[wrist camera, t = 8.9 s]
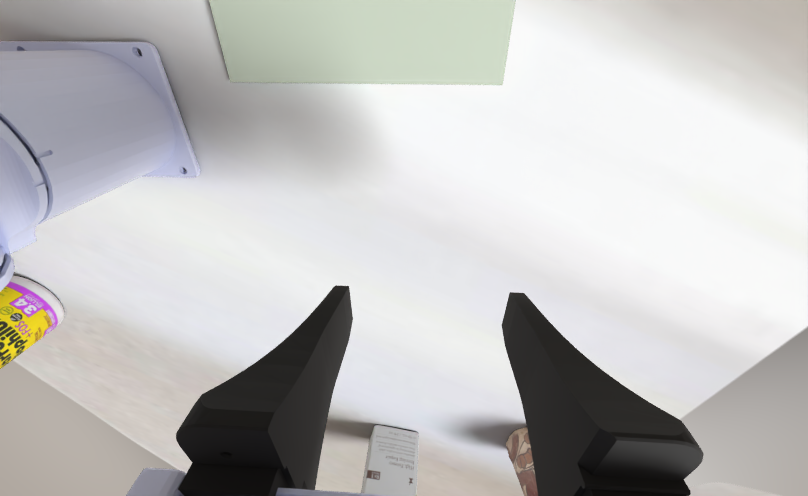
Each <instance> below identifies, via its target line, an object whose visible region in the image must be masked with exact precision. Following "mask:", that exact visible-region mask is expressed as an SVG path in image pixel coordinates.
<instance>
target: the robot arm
mask: <svg viewBox="0 0 808 496" xmlns="http://www.w3.org/2000/svg"><path fill="white" fill-rule="evenodd" d="M138 48H139V49H140V51H141V52H142V56H140V55H139V53H138V50H137V49H138ZM24 49H25V50H24ZM183 167H184V168H185V169H186V170H187V172H185V171H184V169H183ZM199 174H200V168H199V165H198V162H197V159H196V157H195V154H194V151H193V148H192V145H191V143H190V140H189V137H188V134H187V132H186V129H185V126H184V123H183V120H182V118H181V115H180V112H179V109H178V106H177V104H176V101H175V98H174V95H173V92H172V90H171V87H170V84H169V81H168V78H167V76H166V73H165V70H164V67H163V64H162V62H161V59H160V56H159V53H158V51H157V49H156V48H155V47H154V45H152V44H151V43H149V42H66V41H0V292H1V291H2V290H3V289H4V287H5V286H6V285H7V284H8V283H9V282H10V280H11V278H12V276H13V273H14V269H15V265H14V261H13V258H12V257H11V255H10V254H12V253H14V252H16V251H18V250H20V249H22V248H24V247H26V246H28V245H29V244H31V243H33V242H35V241H37V239H36V235H35V228H36V226H37V225H38V224H40V223H42V222H45V221H47V220H49V219H51V218H53V217H55V216H57V215H60V214H62V213H64V212H66V211H68V210H70V209H72V208H75V207H77V206H79V205H81V204H83V203H85V202H87V201H90V200H92V199H94V198H96V197H98V196H100V195H102V194H105V193H107V192H109V191H111V190H113V189H115V188H117V187H120V186H122V185H124V184H126V183H128V182H130V181H132V180H135V179H137V178H139V177H141V176H148V177H189V178H194V177H197V176H198V175H199ZM352 320H353V317H352V308H351V300H350V292H349V286H335V287H333V289H332V290H331V291H330V292H329V294H328V295H327V296H326V297H325V299H324V300H323V301H322V302H321V303H320V304H319V306H318V307H317V308H316V309H315V310H314V311H313V312H312V313H311V315H310V316H309V317H308V318H307V319H306V320H305V321H304V322H303V323H302V324H301V325H300V326H299V327H298V328H297V329H296V330H295V331H294V332H293V333H292V334H291V335H290V336H289V337H287V338H286V339H285V340H284V341H283V342H282V343H281V344H279V345H278V346H277V347H276V348H275V349H273V350H272V351H271V352H269V353H268V354H267V355H265V356H264V357H263V358H261V359H260V360H259V361H257V362H256V363H255V364H253V365H252V366H250V367H249V368H247V369H246V370H244V371H242V372H241V373H239V374H238V375H236V376H234V377H233V378H231V379H229V380H228V381H226V382H224V383H222V384H220V385H219V386H217V387H215V388H213V389H211V390H209V391H208V392H206V393H204V394H202V395H201V397H200V398H199V399H198V401H197V402H196V403H195V405H194V406H193V408H192V409H191V411H190V412H189V414H188V416H187V417H186V419H185V420H184V422H183V423H182V425H181V427H180V428H179V430H178V431H177V433H176V439H177V442H178V444H179V446H180V447H181V448H182V450H183V451H184V452H185V453H186V455H187V456H188V457H189V459H190V460H191V461H192V462H193V463H192V465H191V467H190V468H189V470H188V472H187V474H186V473H185V472H183V471H180V470H175V469H160V468H145V469H143V471H142V472H141V473H140V475H139V477H138V478H137V480H136V481H135V483H134V484H133V486H132V487H131V489H130V490H129V492H128V493H127V495H126V496H392V495H378V494H363V493H349V492H334V491H320V490H315V485H316V478H317V472H318V466H319V460H320V455H321V449H322V443H323V438H324V433H325V428H326V422H327V417H328V412H329V408H330V403H331V398H332V393H333V390H334V386H335V382H336V379H337V376H338V373H339V370H340V366H341V363H342V360H343V357H344V354H345V351H346V347H347V344H348V341H349V336H350V331H351V326H352ZM502 329H503V336H504V341H505V347H506V350H507V354H508V357H509V360H510V364H511V367H512V370H513V373H514V377H515V380H516V383H517V386H518V390H519V393H520V397H521V401H522V404H523V409H524V414H525V419H526V424H527V430H528V435H529V441H530V446H531V452H532V459H533V465H534V471H535V477H536V485H537V492H538V496H689V495H690V490H689V488H688V486H687V485H686V483H685V481H684V479H685V478H686V477H687V476H688V475H689V474H690V473H691V472H692V471H693V470H695V469H696V468H697V467H698V466H699V464H700V463H701V462H702V459H703V452H702V450H701V448H699V445H698V444H697V442H696V441H695V439H694V438H693V437H692V435H691V433H690V432H689V431H688V429H687V428H686V427H685V425H684V424H683V423H682V421H681V420H679V419H677V418H675V417H674V416H672V415H670V414H668V413H667V412H665V411H663V410H661V409H660V408H658V407H656V406H654V405H653V404H651V403H649V402H648V401H646V400H645V399H643V398H641V397H640V396H638V395H637V394H635V393H634V392H632V391H631V390H629V389H628V388H626V387H625V386H623V385H622V384H620V383H619V382H617V381H616V380H615V379H613V378H612V377H611V376H609V375H608V374H607V373H605V372H604V371H602V370H601V369H600V368H599V367H597V366H596V365H595V364H594V363H592V362H591V361H590V360H589V359H588V358H586V357H585V356H584V355H583V354H582V353H580V352H579V351H578V350H577V349H576V348H575V347H574V346H573V345H572V344H571V343H570V342H569V341H568V340H566V339H565V338H564V337H563V336H562V335H561V334H560V333H559V332H558V331H557V330H556V328H555V327H554V326H553V325H552V324H551V323H550V322H549V321H548V320H547V319H546V318H545V317H544V315H543V314H542V313H541V312H540V311H539V310H538V309H537V307H536V306H535V305H534V304H533V303H532V302H531V301H530V299H529V298H528V297H527V296H526V295H525V294H524V293H510V294H509V298H508V302H507V306H506V310H505V314H504V319H503V323H502Z"/></svg>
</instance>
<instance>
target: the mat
mask: <svg viewBox="0 0 808 496" xmlns="http://www.w3.org/2000/svg"><path fill="white" fill-rule="evenodd" d="M515 1H516V0H209V3H210V7H211V10H212V14H213V18H214V22H215V26H216V29H217V33H218V37H219V41H220V45H221V48H222V52H223V56H224V60H225V64H226V67H227V71H228V75H229V79H230V82H249V83H346V84H443V85H503V78H504V72H505V66H506V59H507V53H508V46H509V40H510V33H511V27H512V20H513V14H514V8H515Z"/></svg>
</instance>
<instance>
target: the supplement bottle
mask: <svg viewBox="0 0 808 496" xmlns="http://www.w3.org/2000/svg"><path fill="white" fill-rule="evenodd" d="M64 315H65V313H64V309H63V306H62V304H61V303H60V301H59V300H58V299H57V298H56V297H55V296H54V295H53V294H52V293H51V292H50V291H48V290H47V289H46V288H44V287H43V286H41V285H39V284H37V283H35V282H33V281H31V280H28V279H26V278H23V277H19V276H12V278H11V280H10V282H9V283H8V284H7V285H6V286H5V287H4V289H3V290H2V291H1V292H0V369H1V368H2V367H4V366H5V365H6V364H8V363H9V362H10V361H12V360H13V359H14V358H16V357H17V356H18V355H19V354H21V353H22V352H24V351H25V350H26V349H28V348H29V347H30V346H32V345H33V344H34V343H35V342H37V341H38V340H39V339H41V338H42V337H43V336H45V335H46V334H47V333H49V332H50V331H51V330H53V329H54V328H55V327H56V326H58V325H59V324H60V323H61V322H62V321H63V319H64Z"/></svg>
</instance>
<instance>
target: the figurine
mask: <svg viewBox="0 0 808 496" xmlns="http://www.w3.org/2000/svg"><path fill="white" fill-rule="evenodd" d="M506 446H507V449H508V454H509V457H510V459H511V461H512V464H513V466H514V469H515V472H516V474H517V477H518V479H519V482H520V485H521V488H522V491H523V493H524V495H525V496H538V492H537V485H536V477H535V471H534V465H533V459H532V452H531V446H530V441H529V435H528V430H527V427H524V428H520V429H518V430H515V431H513V433H512V434H511V435H510V436H509V438H508V441H507V442H506Z"/></svg>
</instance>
